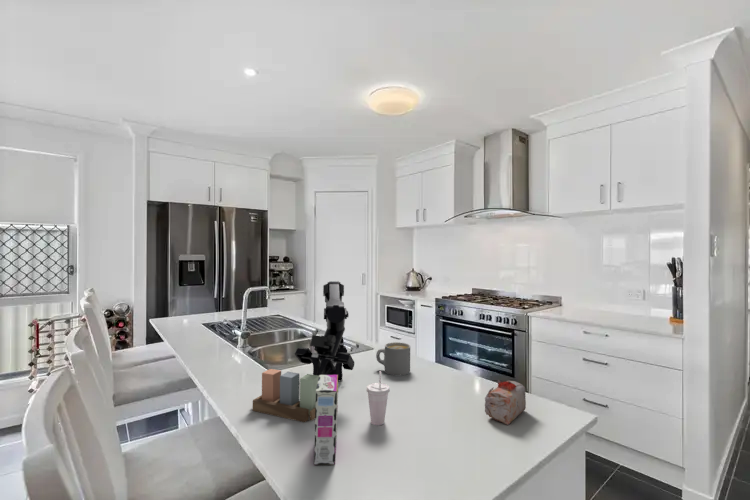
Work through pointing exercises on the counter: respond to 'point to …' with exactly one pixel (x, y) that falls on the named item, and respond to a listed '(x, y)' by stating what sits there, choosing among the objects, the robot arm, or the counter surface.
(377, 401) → the smoothie
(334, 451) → the candy bar box
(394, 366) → the coffee mug
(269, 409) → the wooden slotted rack
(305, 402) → the sage key
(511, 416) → the food item
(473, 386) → the counter surface
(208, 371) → the counter surface
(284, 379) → the grey tall block
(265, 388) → the pink rectangular block
